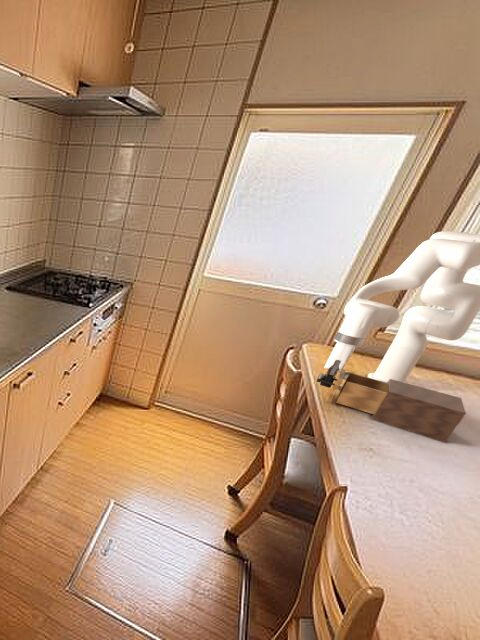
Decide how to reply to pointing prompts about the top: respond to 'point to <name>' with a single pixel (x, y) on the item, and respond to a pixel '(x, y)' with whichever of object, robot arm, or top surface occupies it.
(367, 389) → the drawer
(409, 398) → the cabinet
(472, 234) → the robot arm
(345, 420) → the top surface
